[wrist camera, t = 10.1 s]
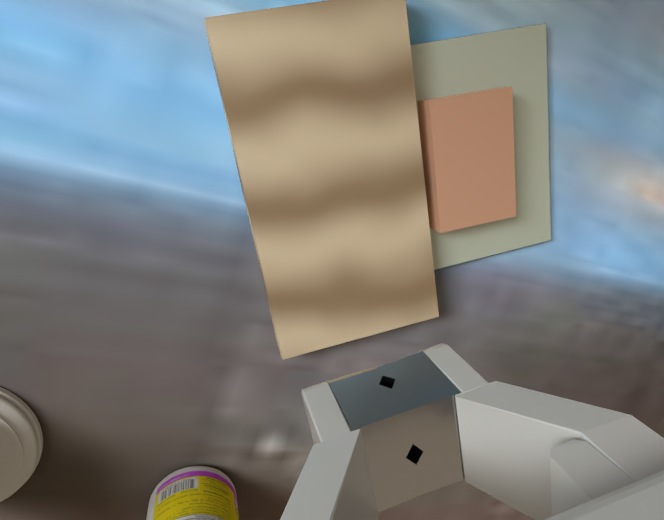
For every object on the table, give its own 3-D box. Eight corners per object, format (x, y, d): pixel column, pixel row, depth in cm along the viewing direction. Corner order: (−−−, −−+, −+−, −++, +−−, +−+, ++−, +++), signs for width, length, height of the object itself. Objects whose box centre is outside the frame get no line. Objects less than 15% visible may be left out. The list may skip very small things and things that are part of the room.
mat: (396, 48, 33) (399, 47, 32) (540, 24, 35) (546, 23, 34) (421, 269, 38) (424, 272, 37) (546, 238, 40) (550, 240, 39)
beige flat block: (204, 24, 29) (204, 17, 27) (390, -2, 32) (404, -11, 29) (277, 344, 36) (282, 359, 34) (425, 305, 39) (438, 316, 36)
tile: (417, 100, 33) (429, 99, 31) (495, 87, 34) (512, 86, 33) (428, 227, 36) (440, 233, 34) (500, 211, 37) (516, 216, 35)
